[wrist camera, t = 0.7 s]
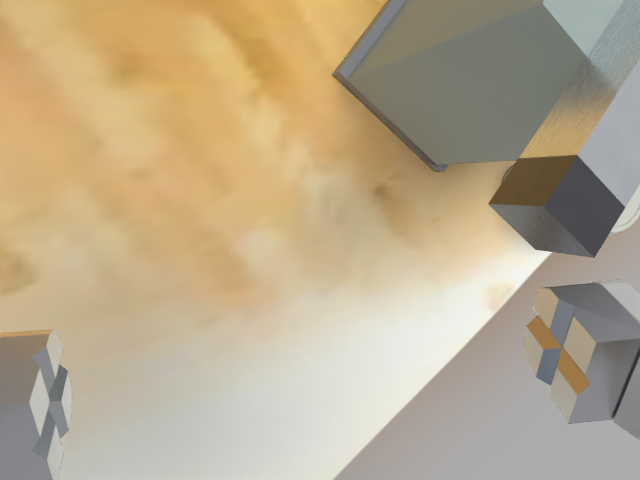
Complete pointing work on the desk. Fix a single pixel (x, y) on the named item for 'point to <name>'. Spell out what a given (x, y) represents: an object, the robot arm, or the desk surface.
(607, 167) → the lever bar
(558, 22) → the press column
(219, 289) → the desk surface
